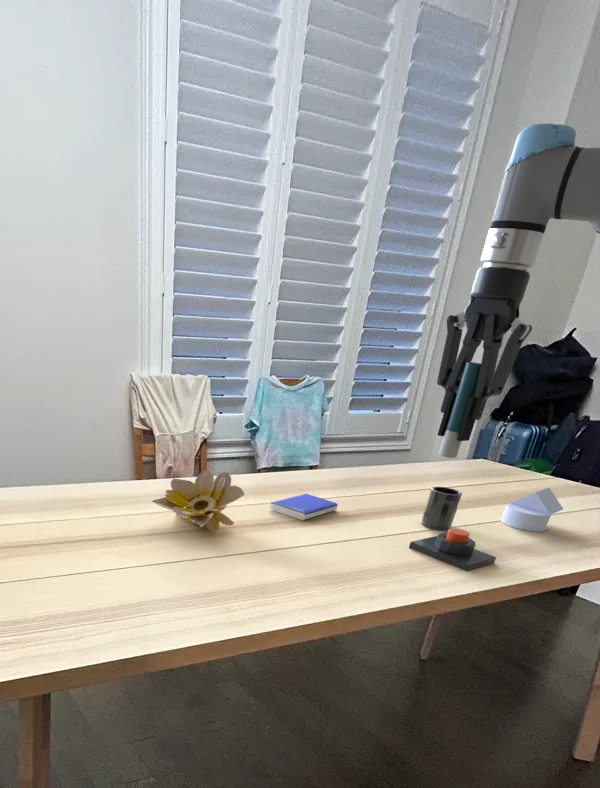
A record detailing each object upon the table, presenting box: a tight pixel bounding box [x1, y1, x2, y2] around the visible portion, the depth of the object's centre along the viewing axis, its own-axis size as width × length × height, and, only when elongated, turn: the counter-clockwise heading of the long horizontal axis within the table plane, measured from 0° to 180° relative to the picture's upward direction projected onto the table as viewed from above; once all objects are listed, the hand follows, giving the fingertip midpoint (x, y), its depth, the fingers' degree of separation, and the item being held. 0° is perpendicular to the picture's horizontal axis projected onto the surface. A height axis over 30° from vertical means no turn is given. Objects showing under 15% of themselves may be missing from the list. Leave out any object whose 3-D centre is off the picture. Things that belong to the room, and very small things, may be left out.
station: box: [408, 532, 497, 572], centre depth 112 cm, size 12×9×3 cm
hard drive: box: [269, 493, 338, 521], centre depth 127 cm, size 2×8×12 cm
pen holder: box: [420, 486, 463, 532], centre depth 126 cm, size 6×6×7 cm
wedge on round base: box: [500, 487, 564, 533], centre depth 135 cm, size 9×7×13 cm
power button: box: [446, 528, 470, 544], centre depth 111 cm, size 4×4×2 cm
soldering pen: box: [438, 361, 481, 459], centre depth 105 cm, size 3×3×14 cm
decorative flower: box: [151, 469, 246, 532], centre depth 111 cm, size 15×11×10 cm
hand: (453, 437), depth 107 cm, fingers closed on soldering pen, 3 cm apart
